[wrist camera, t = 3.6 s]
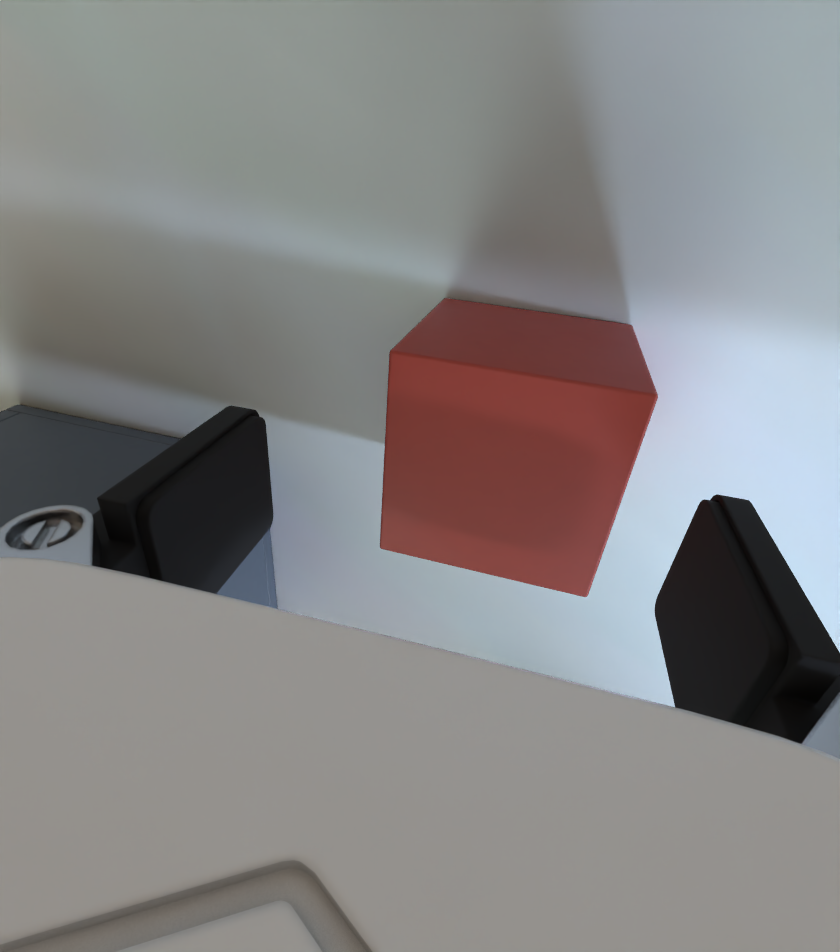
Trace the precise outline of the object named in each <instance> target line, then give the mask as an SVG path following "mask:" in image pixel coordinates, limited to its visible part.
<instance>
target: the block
mask: <svg viewBox="0 0 840 952" xmlns="http://www.w3.org/2000/svg"><path fill="white" fill-rule="evenodd" d="M657 398H658V395H657V392H656V389H655V386H654V384H653V381H652V378H651V376H650V373H649V370H648V367H647V365H646V362H645V359H644V357H643V354H642V351H641V348H640V346H639V343H638V340H637V338H636V335H635V332H634V329H633V327H632V325H630V324H623V323H616V322H609V321H602V320H595V319H588V318H581V317H574V316H567V315H560V314H553V313H546V312H539V311H532V310H525V309H518V308H511V307H505V306H498V305H491V304H484V303H477V302H470V301H463V300H456V299H449V298H444V299H443V300H442V301H441V302H440V303H439V304H438V305H437V306H436V307H435V308H434V309H433V310H432V311H431V312H430V313H429V314H428V315H427V316H426V317H425V318H424V319H423V320H422V321H421V322H420V323H418V324H417V325H416V326H415V327H414V328H413V329H412V330H411V331H410V332H409V333H408V334H407V335H406V336H405V337H404V338H403V339H402V340H401V341H400V342H399V343H398V344H397V345H396V346H395V347H394V348H393V349H392V350H391V351H390V354H389V374H388V394H387V414H386V434H385V454H384V474H383V494H382V514H381V534H380V548H381V549H385V550H389V551H393V552H397V553H402V554H406V555H410V556H414V557H418V558H423V559H427V560H431V561H435V562H439V563H444V564H448V565H452V566H456V567H460V568H465V569H469V570H473V571H477V572H482V573H486V574H490V575H494V576H498V577H503V578H507V579H511V580H515V581H519V582H524V583H528V584H532V585H536V586H541V587H545V588H549V589H553V590H557V591H562V592H566V593H570V594H574V595H578V596H583V597H587V595H588V593H589V591H590V588H591V585H592V582H593V579H594V576H595V574H596V571H597V568H598V565H599V562H600V559H601V557H602V554H603V551H604V548H605V545H606V542H607V540H608V537H609V534H610V531H611V528H612V525H613V523H614V520H615V517H616V514H617V511H618V509H619V506H620V503H621V500H622V497H623V494H624V492H625V489H626V486H627V483H628V480H629V477H630V475H631V472H632V469H633V466H634V463H635V460H636V458H637V455H638V452H639V449H640V446H641V444H642V441H643V438H644V435H645V432H646V429H647V427H648V424H649V421H650V418H651V415H652V412H653V410H654V407H655V404H656V401H657Z"/></svg>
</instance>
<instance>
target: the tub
mask: <svg viewBox="0 0 840 952" xmlns="http://www.w3.org/2000/svg"><path fill="white" fill-rule="evenodd" d="M179 440H180V439H177V438H173V437H168V436H163V435H159V434H154V433H149V432H145V431H140V430H135V429H131V428H126V427H121V426H117V425H112V424H107V423H102V422H98V421H93V420H88V419H84V418H79V417H74V416H70V415H65V414H60V413H56V412H51V411H46V410H42V409H37V408H32V407H27V406H23V405H16V406H13V407H11V408H8V409H7V410H4V411H1V412H0V528H1V527H2V526H4V525H5V524H6V523H7V522H9V521H10V520H12V519H14V518H16V517H17V516H19V515H21V514H24V513H27V512H29V511H32V510H35V509H39V508H43V507H48V506H56V505H73V506H78V507H82V508H85V509H86V510H88V511H89V512H90V513H91V514H92V515H93V514H94V513H96V512H97V511H99V510H100V507H99V504H98V500H97V497H99V496H100V495H102V494H103V493H104V492H106V491H107V490H109V489H110V488H112V487H113V486H114V485H116V484H117V483H119V482H120V481H122V480H123V479H124V478H126V477H127V476H129V475H130V474H132V473H133V472H135V471H136V470H137V469H139V468H140V467H142V466H143V465H145V464H146V463H147V462H149V461H150V460H152V459H153V458H155V457H156V456H157V455H159V454H160V453H162V452H163V451H165V450H166V449H167V448H169V447H170V446H172V445H173V444H175V443H176V442H178V441H179ZM217 594H218V595H222V596H226V597H230V598H235V599H239V600H243V601H247V602H251V603H255V604H260V605H264V606H268V607H272V608H276V609H277V600H276V589H275V579H274V568H273V558H272V548H271V537H270V528H269V530H268V531H267V533H266V534H265V535H264V536H263V537H262V539H261V540H260V541H259V542H258V544H257V545H256V546H255V547H254V548H253V550H252V551H251V552H250V553H249V555H248V556H247V557H246V558H245V559H244V561H243V562H242V563H241V564H240V566H239V567H238V568H237V569H236V570H235V572H234V573H233V574H232V575H231V576H230V578H229V579H228V580H227V581H226V583H225V584H224V585H223V586H222V587H221V589H220V590H219V591H218V592H217Z"/></svg>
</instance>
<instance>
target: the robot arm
mask: <svg viewBox="0 0 840 952" xmlns="http://www.w3.org/2000/svg"><path fill="white" fill-rule="evenodd" d="M97 500H98V504H99V507H100V510H99V511H97V512H96V513H94V514H93V515H92V514H91V513H90V512H89V511H88V510H86V509H85V508H82V507H78V506H73V505H56V506H48V507H43V508H39V509H35V510H32V511H29V512H27V513H24V514H21V515H19V516H17V517H16V518H14V519H12V520H10V521H9V522H7V523H6V524H5V525H4V526H2V527H1V528H0V952H840V653H839V651H838V649H837V648H836V646H835V644H834V642H833V641H832V639H831V637H830V636H829V634H828V632H827V631H826V629H825V627H824V626H823V624H822V622H821V620H820V619H819V617H818V615H817V614H816V612H815V610H814V609H813V607H812V605H811V603H810V602H809V600H808V598H807V597H806V595H805V593H804V592H803V590H802V588H801V587H800V585H799V583H798V581H797V580H796V578H795V576H794V575H793V573H792V571H791V570H790V568H789V566H788V564H787V563H786V561H785V559H784V558H783V556H782V554H781V553H780V551H779V549H778V547H777V546H776V544H775V542H774V541H773V539H772V537H771V536H770V534H769V532H768V531H767V529H766V527H765V525H764V524H763V522H762V520H761V519H760V517H759V515H758V514H757V512H756V510H755V508H754V507H753V505H752V503H751V502H750V501H749V500H744V499H739V498H733V497H728V496H722V495H715V496H713V497H712V498H711V500H702V501H701V502H700V504H699V506H698V508H697V510H696V512H695V514H694V517H693V519H692V521H691V523H690V525H689V528H688V530H687V532H686V534H685V537H684V539H683V541H682V543H681V545H680V548H679V550H678V552H677V554H676V557H675V559H674V561H673V563H672V565H671V568H670V570H669V572H668V574H667V577H666V579H665V581H664V583H663V585H662V588H661V590H660V592H659V594H658V597H657V599H656V604H655V617H656V621H657V626H658V631H659V635H660V640H661V644H662V649H663V653H664V658H665V662H666V667H667V671H668V676H669V681H670V685H671V690H672V694H673V699H674V703H675V707H671V706H667V705H663V704H659V703H655V702H651V701H647V700H643V699H639V698H635V697H631V696H627V695H623V694H619V693H615V692H611V691H607V690H603V689H599V688H595V687H592V686H588V685H584V684H580V683H576V682H572V681H568V680H564V679H560V678H556V677H552V676H548V675H544V674H540V673H536V672H532V671H528V670H524V669H520V668H516V667H512V666H508V665H504V664H499V663H495V662H491V661H487V660H483V659H479V658H475V657H471V656H467V655H463V654H459V653H455V652H451V651H447V650H443V649H439V648H435V647H431V646H427V645H423V644H419V643H414V642H410V641H406V640H402V639H398V638H394V637H390V636H386V635H382V634H378V633H374V632H370V631H366V630H362V629H357V628H353V627H349V626H345V625H341V624H337V623H333V622H329V621H325V620H321V619H317V618H313V617H309V616H304V615H300V614H296V613H292V612H288V611H284V610H280V609H276V608H272V607H268V606H264V605H260V604H255V603H251V602H247V601H243V600H239V599H235V598H230V597H226V596H222V595H218V594H217V592H218V591H219V590H220V589H221V587H222V586H223V585H224V584H225V583H226V581H227V580H228V579H229V578H230V576H231V575H232V574H233V573H234V572H235V570H236V569H237V568H238V567H239V566H240V564H241V563H242V562H243V561H244V559H245V558H246V557H247V556H248V555H249V553H250V552H251V551H252V550H253V548H254V547H255V546H256V545H257V544H258V542H259V541H260V540H261V539H262V537H263V536H264V535H265V534H266V533H267V531H268V530H269V528H270V527H271V524H272V521H273V505H272V494H271V482H270V470H269V458H268V446H267V434H266V424H265V421H264V419H263V418H261V417H259V415H258V412H257V411H256V410H252V409H247V408H242V407H236V406H228V407H226V408H225V409H223V410H222V411H221V412H219V413H218V414H216V415H215V416H213V417H212V418H211V419H209V420H208V421H206V422H205V423H203V424H202V425H200V426H199V427H198V428H196V429H195V430H193V431H192V432H190V433H189V434H188V435H186V436H185V437H183V438H182V439H180V440H179V441H178V442H176V443H175V444H173V445H172V446H170V447H169V448H167V449H166V450H165V451H163V452H162V453H160V454H159V455H157V456H156V457H155V458H153V459H152V460H150V461H149V462H147V463H146V464H145V465H143V466H142V467H140V468H139V469H137V470H136V471H135V472H133V473H132V474H130V475H129V476H127V477H126V478H124V479H123V480H122V481H120V482H119V483H117V484H116V485H114V486H113V487H112V488H110V489H109V490H107V491H106V492H104V493H103V494H102V495H100V496H99V497H97Z"/></svg>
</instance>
